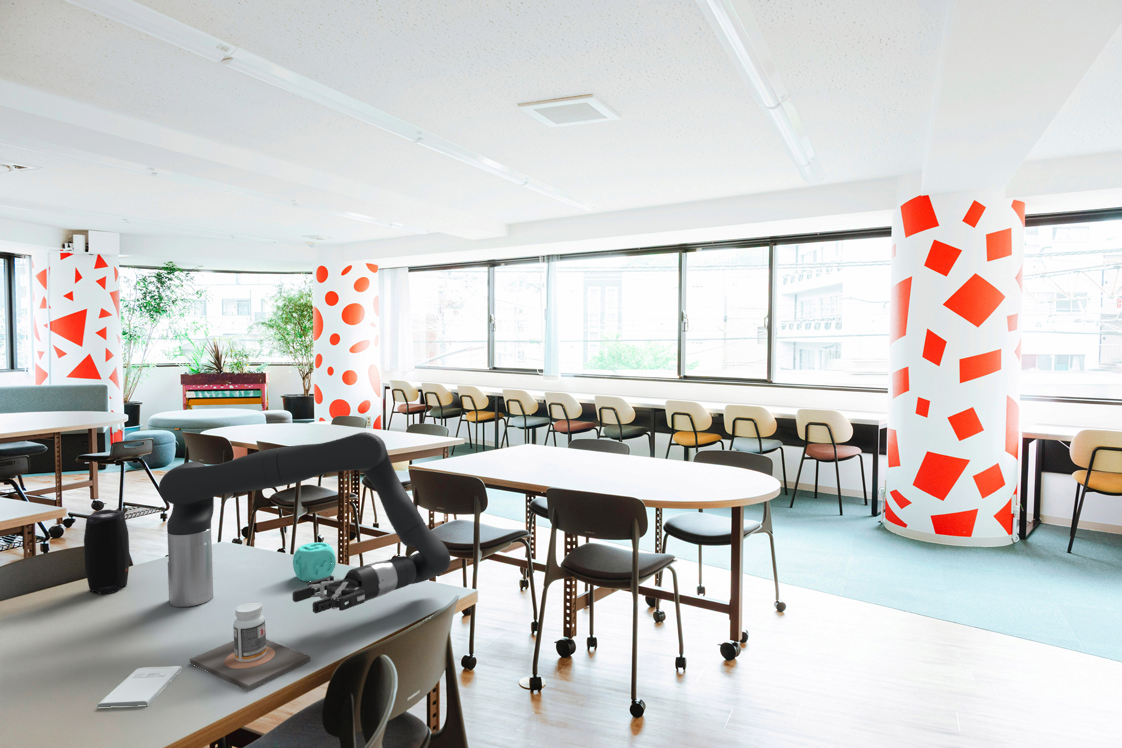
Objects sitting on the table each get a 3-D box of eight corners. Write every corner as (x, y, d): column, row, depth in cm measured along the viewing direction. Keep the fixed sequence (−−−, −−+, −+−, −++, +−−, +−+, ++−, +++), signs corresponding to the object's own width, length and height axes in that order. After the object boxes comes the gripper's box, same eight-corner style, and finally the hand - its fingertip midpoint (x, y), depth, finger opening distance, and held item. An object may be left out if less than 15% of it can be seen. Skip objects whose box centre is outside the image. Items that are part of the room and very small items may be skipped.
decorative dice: (292, 577, 177) (292, 547, 177) (320, 569, 183) (320, 540, 183) (308, 584, 172) (307, 553, 172) (336, 575, 178) (335, 546, 178)
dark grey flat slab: (189, 663, 130) (189, 658, 130) (251, 638, 141) (251, 633, 141) (249, 690, 120) (249, 684, 120) (310, 660, 131) (310, 655, 131)
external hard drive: (97, 712, 115) (137, 675, 127) (147, 709, 115) (182, 673, 128) (97, 703, 115) (136, 667, 127) (147, 700, 115) (181, 664, 128)
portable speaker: (138, 584, 172) (135, 509, 171) (104, 598, 163) (100, 519, 162) (112, 580, 175) (109, 506, 173) (77, 594, 166) (74, 516, 164)
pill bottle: (272, 650, 133) (270, 601, 133) (256, 664, 128) (254, 613, 127) (245, 649, 134) (243, 600, 133) (228, 663, 128) (226, 612, 128)
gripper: (354, 557, 155) (286, 576, 143) (389, 572, 146) (320, 593, 134) (354, 589, 156) (287, 611, 143) (390, 605, 146) (321, 630, 134)
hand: (303, 602), depth 139 cm, fingers open, 8 cm apart
